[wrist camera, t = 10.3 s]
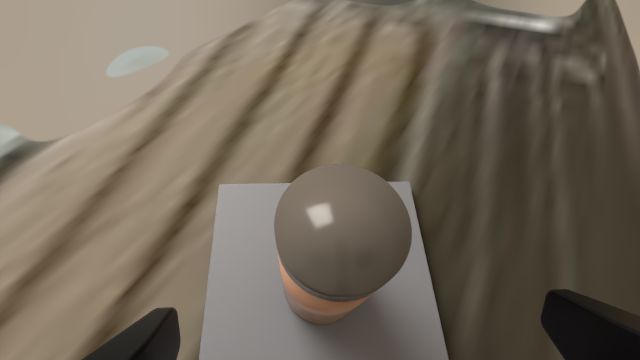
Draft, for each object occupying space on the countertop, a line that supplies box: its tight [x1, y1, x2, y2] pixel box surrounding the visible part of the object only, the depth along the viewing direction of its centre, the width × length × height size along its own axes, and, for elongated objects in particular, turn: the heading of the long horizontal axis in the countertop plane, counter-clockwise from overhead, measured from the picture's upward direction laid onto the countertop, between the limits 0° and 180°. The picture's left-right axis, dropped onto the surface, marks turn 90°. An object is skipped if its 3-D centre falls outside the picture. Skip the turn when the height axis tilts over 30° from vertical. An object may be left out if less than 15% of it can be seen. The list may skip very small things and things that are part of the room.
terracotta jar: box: [274, 164, 412, 324], centre depth 15 cm, size 5×5×10 cm
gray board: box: [199, 182, 449, 360], centre depth 20 cm, size 14×14×1 cm
